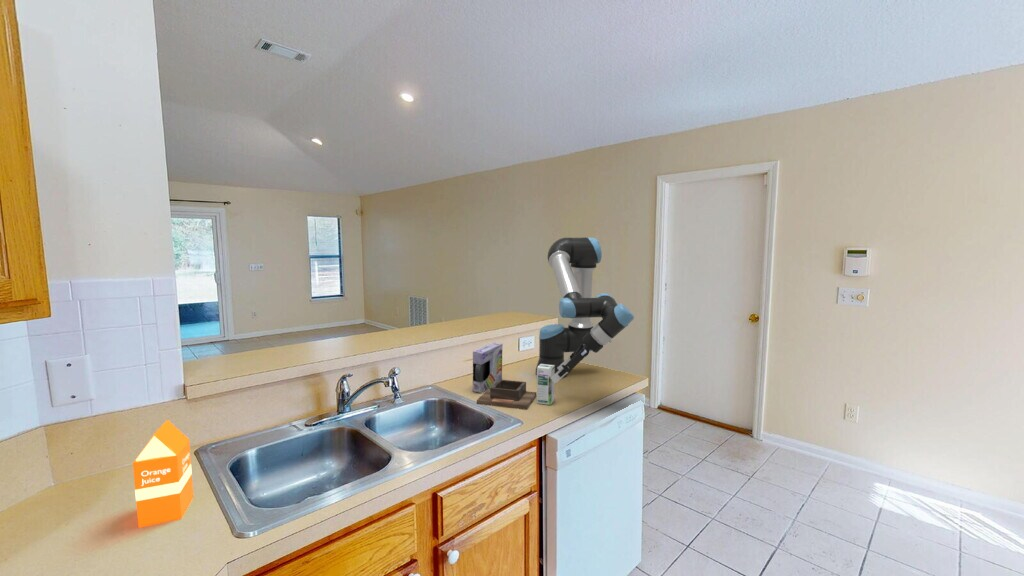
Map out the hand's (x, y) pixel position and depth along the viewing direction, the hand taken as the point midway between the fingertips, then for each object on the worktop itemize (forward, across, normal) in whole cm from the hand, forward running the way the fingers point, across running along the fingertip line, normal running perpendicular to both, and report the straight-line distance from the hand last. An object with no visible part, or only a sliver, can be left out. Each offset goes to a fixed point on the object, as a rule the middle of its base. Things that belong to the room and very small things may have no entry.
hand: (556, 375), depth 158 cm
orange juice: (+60, -89, +44) cm, 116 cm away
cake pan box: (+31, +12, +15) cm, 36 cm away
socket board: (+22, 0, +6) cm, 22 cm away
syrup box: (+11, +1, -5) cm, 12 cm away
